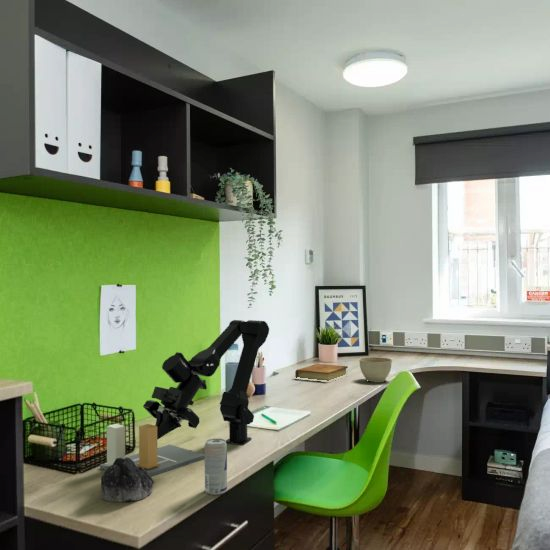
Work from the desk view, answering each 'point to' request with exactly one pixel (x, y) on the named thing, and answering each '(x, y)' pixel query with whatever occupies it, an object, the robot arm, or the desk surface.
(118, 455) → the cream fader
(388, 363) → the planter bowl
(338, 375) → the diary
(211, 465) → the energy drink
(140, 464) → the block
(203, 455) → the grey marked board
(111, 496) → the crystal cluster
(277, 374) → the desk surface
